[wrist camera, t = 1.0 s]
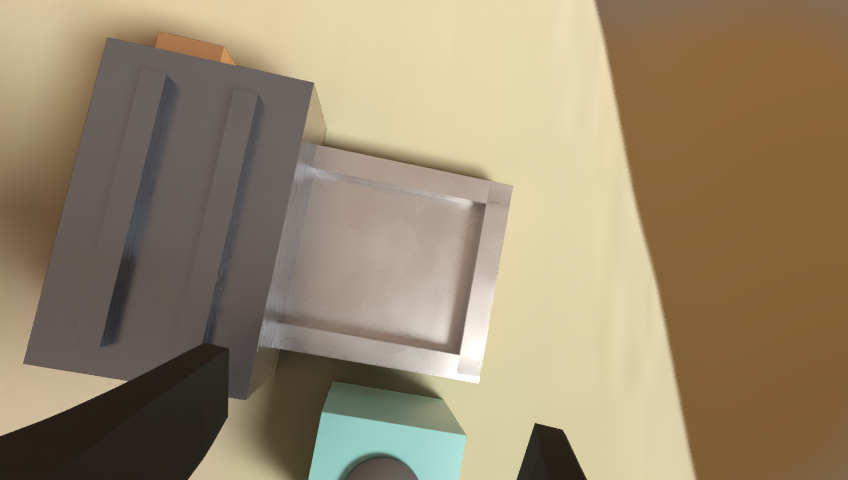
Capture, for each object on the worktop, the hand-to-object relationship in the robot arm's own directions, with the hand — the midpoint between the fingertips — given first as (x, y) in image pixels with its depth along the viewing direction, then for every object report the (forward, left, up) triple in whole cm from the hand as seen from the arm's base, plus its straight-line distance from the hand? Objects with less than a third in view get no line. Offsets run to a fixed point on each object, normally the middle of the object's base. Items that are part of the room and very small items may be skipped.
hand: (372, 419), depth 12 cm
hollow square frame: (+5, +3, -11) cm, 13 cm away
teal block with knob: (-4, -1, -11) cm, 12 cm away
